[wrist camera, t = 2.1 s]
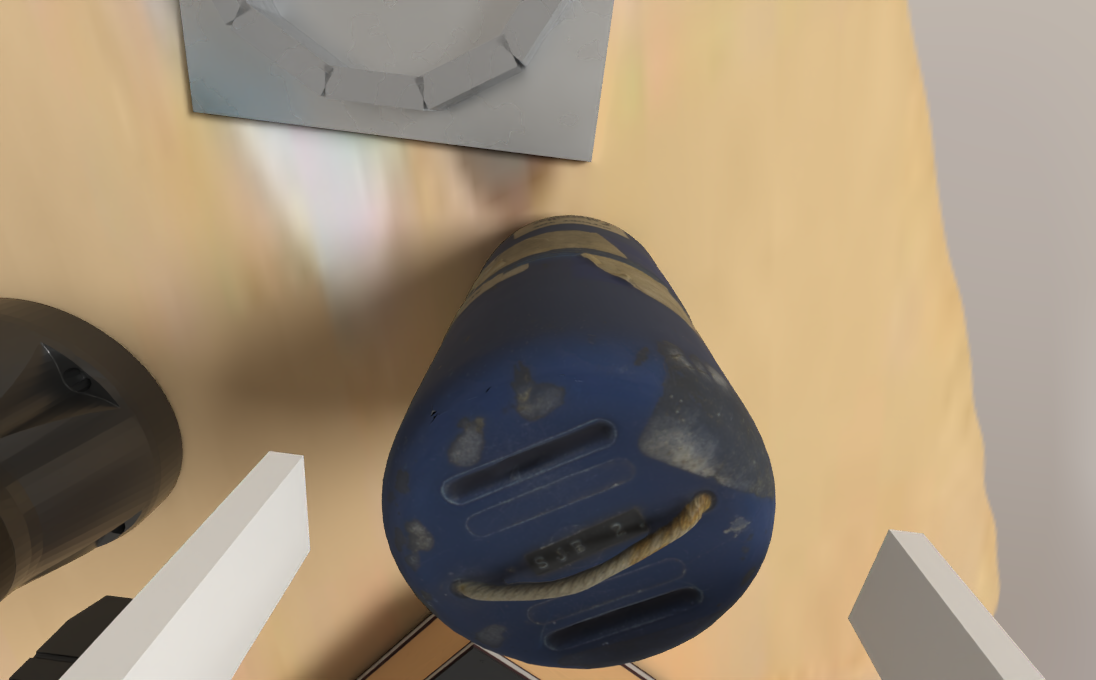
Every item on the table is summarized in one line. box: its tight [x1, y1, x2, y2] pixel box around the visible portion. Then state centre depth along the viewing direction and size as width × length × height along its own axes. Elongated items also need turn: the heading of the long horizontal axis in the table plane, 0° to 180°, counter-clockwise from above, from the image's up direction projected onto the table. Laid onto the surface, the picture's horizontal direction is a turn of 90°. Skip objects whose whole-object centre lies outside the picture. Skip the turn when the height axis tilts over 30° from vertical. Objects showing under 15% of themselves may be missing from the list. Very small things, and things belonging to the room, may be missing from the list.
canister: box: [382, 215, 776, 669], centre depth 19 cm, size 10×10×18 cm
